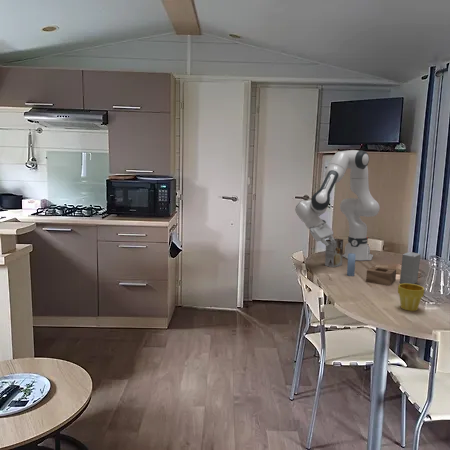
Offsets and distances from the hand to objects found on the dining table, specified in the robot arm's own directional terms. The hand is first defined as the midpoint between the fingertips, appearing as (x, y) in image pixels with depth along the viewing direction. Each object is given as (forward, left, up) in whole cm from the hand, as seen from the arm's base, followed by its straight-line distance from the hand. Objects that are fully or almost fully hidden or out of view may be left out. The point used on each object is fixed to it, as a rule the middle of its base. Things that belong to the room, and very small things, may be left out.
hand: (331, 244), depth 245 cm
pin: (0, +12, -16) cm, 20 cm away
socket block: (+2, +29, -16) cm, 33 cm away
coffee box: (-16, -4, -16) cm, 23 cm away
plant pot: (+39, +51, -16) cm, 66 cm away
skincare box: (-3, +42, -16) cm, 45 cm away
